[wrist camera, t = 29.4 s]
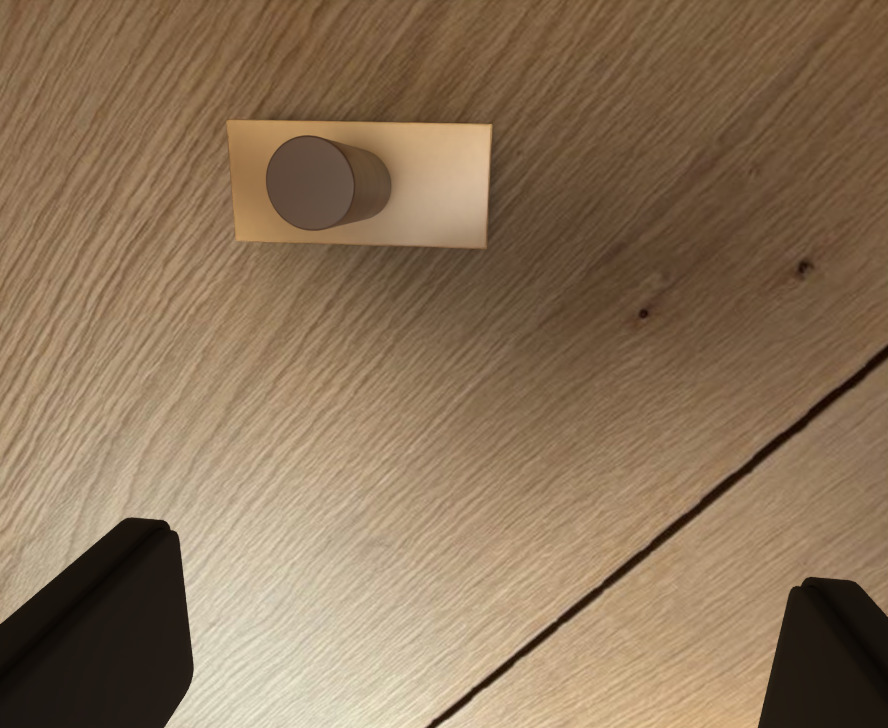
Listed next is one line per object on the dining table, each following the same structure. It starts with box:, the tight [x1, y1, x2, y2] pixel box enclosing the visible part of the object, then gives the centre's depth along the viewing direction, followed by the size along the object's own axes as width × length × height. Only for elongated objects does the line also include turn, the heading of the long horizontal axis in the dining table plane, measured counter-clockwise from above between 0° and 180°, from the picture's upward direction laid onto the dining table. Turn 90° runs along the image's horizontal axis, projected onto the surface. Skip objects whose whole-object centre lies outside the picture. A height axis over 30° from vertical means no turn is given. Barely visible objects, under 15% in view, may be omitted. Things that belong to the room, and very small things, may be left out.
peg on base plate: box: [227, 119, 493, 249], centre depth 21 cm, size 4×10×9 cm, turn 89°
